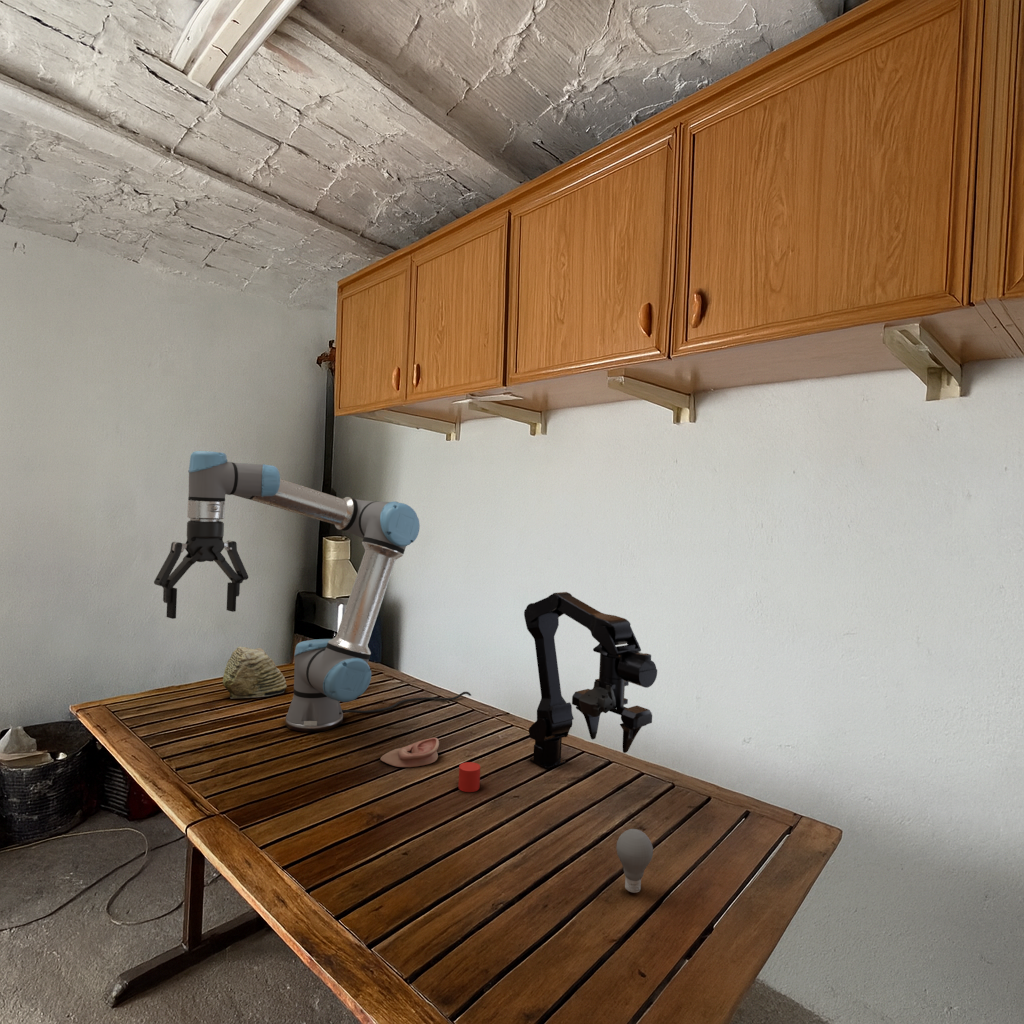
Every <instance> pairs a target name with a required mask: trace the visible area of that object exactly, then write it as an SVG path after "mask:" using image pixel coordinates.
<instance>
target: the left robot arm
mask: <svg viewBox="0 0 1024 1024" xmlns="http://www.w3.org/2000/svg"><path fill="white" fill-rule="evenodd" d="M226 495H228V496H235V497H239V498H241V499H245V500H250V501H252V502H253V501H254V502H256V503H260V504H264V505H267V506H270V507H274V508H277V509H280V510H283V511H286V512H291V513H294V514H298V515H301V516H305V517H308V518H311V519H314V520H318V521H321V522H325V523H328V524H331V525H334V527H335V528H336V529H337V530H339V531H343V532H346V533H349V534H351V535H354V536H356V537H358V538H361V539H362V542H361V544H362V547H363V548H364V553H363V556H362V559H361V562H360V565H359V568H358V571H357V574H356V577H355V580H354V583H353V585H352V589H351V592H350V594H349V597H348V600H347V603H346V606H345V609H344V613H343V614H342V617H341V621H340V623H339V627H338V629H337V633H336V634H335V637H333V638H319V639H308V640H303V641H300V642H297V644H296V645H295V650H294V655H293V656H294V672H293V695H292V696H293V697H292V699H291V702H290V704H289V708H288V711H287V713H286V715H285V726H286V728H287V729H289V730H291V731H294V732H295V731H296V732H301V733H316V732H325V731H329V730H332V729H335V728H337V727H339V726H340V725H342V723H343V722H344V713H347V714H349V713H351V714H353V713H354V714H372V713H379V712H385V711H388V710H390V709H391V710H392V709H394V708H396V707H397V706H399V705H401V704H405V703H407V702H413V701H414V702H415V701H427V700H428V701H453V700H454V701H455V700H457V699H459V698H460V697H462V696H464V695H467V696H469V697H470V696H472V694H471V692H469V691H463V692H461V693H460V694H458V695H456V696H453V697H435V696H433V697H432V696H425V697H413V698H406V699H402V700H399V701H398V702H395V703H394V704H393V705H390V706H387V707H382V708H375V709H367V710H366V709H365V710H360V709H359V710H358V709H342V706H341V703H348V702H349V703H350V702H353V701H354V700H356V699H358V698H360V697H361V696H362V695H363V694H364V693H366V691H367V689H368V688H369V686H370V684H371V680H372V670H371V666H370V665H369V660H370V659H371V655H372V652H371V649H370V648H369V642H370V640H371V636H372V633H373V630H374V627H375V624H376V622H377V618H378V616H379V612H380V610H381V606H382V603H383V599H384V597H385V595H386V594H385V593H386V590H387V587H388V584H389V581H390V579H391V576H392V573H393V570H394V566H395V564H396V561H397V560H399V559H400V558H402V557H404V554H405V551H406V548H407V547H408V546H409V545H410V544H412V543H414V542H415V541H416V539H417V538H418V536H419V533H420V527H421V525H420V524H421V523H420V519H419V517H418V515H417V512H416V510H414V508H412V507H411V506H410V505H408V504H407V503H403V502H398V501H381V500H380V501H379V500H365V499H364V500H363V499H358V498H353V497H350V496H345V497H344V498H341V497H338V496H335V495H332V494H329V493H326V492H322V491H320V490H316V489H313V488H310V487H308V486H304V485H301V484H297V483H295V482H291V481H289V480H285V479H282V478H281V474H280V471H279V469H278V467H276V466H275V465H272V464H271V465H270V464H265V463H262V464H261V463H249V462H248V463H247V462H245V463H244V462H233V461H228V457H227V454H226V453H225V452H221V451H220V452H218V451H211V450H209V451H207V450H194V451H192V452H191V454H190V457H189V467H188V498H187V518H188V519H189V520H188V521H187V522H186V541H185V542H180V541H172V542H171V543H170V549H169V553H168V554H167V557H166V558H165V560H164V562H163V564H162V566H161V568H160V569H159V572H158V574H157V575H156V577H155V578H154V580H153V584H154V585H155V586H159V587H162V589H163V590H162V601H163V603H164V604H166V615H165V617H166V618H167V619H172V620H174V619H177V603H178V602H177V600H178V598H177V597H178V588H176V587H175V586H176V584H178V582H179V581H180V580H181V579H182V577H184V575H185V573H187V571H188V570H189V569H190V568H191V567H192V566H193V565H194V564H195V563H196V562H197V563H205V562H210V563H211V562H215V563H216V564H217V566H218V567H219V568H220V569H221V571H222V572H223V573H224V574H225V576H227V578H229V581H230V582H227V586H226V587H227V588H226V589H227V590H226V611H228V612H232V613H235V612H236V611H237V597H239V596H240V593H241V592H240V591H241V584H242V583H243V582H244V581H247V580H248V579H249V574H248V573H247V570H246V567H245V565H244V564H243V561H242V559H241V557H240V554H239V552H238V544H237V542H236V541H235V540H227V541H224V535H225V522H224V521H222V520H224V519H225V508H226V506H225V505H226ZM223 550H224V551H226V554H227V555H228V557H229V560H230V562H231V564H232V566H231V565H230V563H228V561H227V560H226V557H225V556H224V555H223V554H222V552H223ZM184 551H186V552H187V553H186V554H185V556H183V558H182V560H181V562H180V563H179V564H178V565H176V564H177V562H178V560H179V559H180V557H181V555H182V553H183V552H184ZM175 566H176V567H175ZM174 568H175V569H174Z"/></svg>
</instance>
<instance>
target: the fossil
mask: <svg viewBox="0 0 1024 1024" xmlns="http://www.w3.org/2000/svg"><path fill="white" fill-rule="evenodd" d="M222 676H223V677H222V685H223V687H224V688H225V690H226V691H228V693H229V698H230V699H250V698H264V697H271V696H275V695H281V694H284V693H285V691H286V689H287V687H288V686H287V680H286V678H285V676H284V674H283V673H282V672H281V669H279V668H278V667H277V665H276V663H275V662H274V660H273V659H272V658H271V657H270V656H269V655H268V654H267V653H266V652H265V650H264V649H263V648H260V647H258V648H251V647H247V646H246V647H245V646H238V647H237V648H236V649H235V650H233V651H232V653H231V656H230V657H229V659H228V660H227V663H226V666H225V668H224V671H223V675H222Z"/></svg>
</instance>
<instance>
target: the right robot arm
mask: <svg viewBox="0 0 1024 1024" xmlns="http://www.w3.org/2000/svg"><path fill="white" fill-rule="evenodd" d="M563 615H565V616H566V617H568V618H570V619H571V620H573V621H575V622H577V623H578V624H579V625H581V626H582V627H584V628H586V629H588V630H589V632H590V634H591V637H592V638H593V639H594V640H596V642H597V643H598V644H597V645H596V646H595V647H593V649H592V651H593V652H594V653H598V654H599V669H598V675H599V676H598V678H596V679H594V681H593V687H592V688H591V689H590V688H586V689H582V690H578V691H574V693H573V695H572V696H571V702H567V701H566V700H565V699H564V697H563V696H562V687H561V681H560V672H559V663H558V657H557V648H556V641H555V637H556V633H557V631H558V629H559V626H560V624H559V622H560V621H559V618H560V617H561V616H563ZM523 616H524V622H525V625H526V629H527V631H528V632H529V634H530V635H531V636H532V638H533V639H534V647H535V655H536V663H537V671H538V680H539V681H538V682H539V688H540V701H539V704H538V706H537V709H536V721H535V722H534V723H533V724H531V726H529V727H528V735H529V738H530V739H532V740H534V744H533V756H532V757H530V758H529V761H530V762H532V763H534V764H536V765H538V766H539V767H542V768H544V769H547V770H549V769H552V768H554V767H555V768H556V767H558V766H561V765H563V764H566V760H565V759H562V743H563V738H568V736H569V733H570V730H571V728H572V727H573V720H574V719H575V718H574V715H573V710H572V709H573V707H572V705H573V706H575V709H576V710H578V711H579V712H580V713H581V714H582V715H583V717H584V719H585V723H586V726H587V730H588V733H589V736H590V739H591V740H595V739H596V738H597V734H598V729H599V725H600V717H601V714H602V713H603V714H607V713H608V712H611V713H614V714H616V715H619V716H620V720H621V722H622V723H620V724H619V726H620V728H621V729H622V753H624V754H626V753H628V751H629V749H630V748H631V746H632V745H633V742H634V740H635V738H636V736H637V735H638V733H639V732H640V730H641V729H642V728H643V727H645V726H647V725H649V724H652V723H653V713H652V711H651V710H650V709H649V708H646V707H642V706H640V705H633V706H630V707H627V706H625V705H628V703H629V700H628V698H626V697H625V693H626V691H625V690H626V687H627V686H630V685H629V683H631V684H633V685H636V686H639V687H642V688H645V689H646V688H650V687H652V686H653V684H654V683H655V682H656V680H657V676H658V669H657V666H656V665H657V664H656V663H655V662H654V661H653V660H652V654H650V653H647V652H645V653H644V652H641V651H642V648H641V646H640V643H639V641H638V639H637V637H636V635H635V633H634V631H633V629H632V626H631V622H630V621H629V620H628V619H627V618H624V617H621V616H618V615H614V614H609V613H608V614H607V613H604V612H601V611H600V610H598V609H595V608H594V607H592V606H591V605H588V604H587V603H586V602H584V601H582V600H580V599H578V598H576V597H575V596H573V594H571V593H570V592H567V591H560V592H553V593H552V594H550V595H548V596H547V597H545V598H542V599H540V600H538V601H536V602H531V603H528V604H527V605H526V608H525V609H524V612H523Z"/></svg>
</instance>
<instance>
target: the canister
mask: <svg viewBox="0 0 1024 1024" xmlns="http://www.w3.org/2000/svg"><path fill="white" fill-rule="evenodd" d="M457 784H458V785H457V786H458V790H460V791H461V792H464V793H475V792H477V791H479V790H480V785H481V765H480V764H479V763H477V762H473V761H467V762H466V761H465V762H462V763H460V764H459V766H458V783H457Z"/></svg>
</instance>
